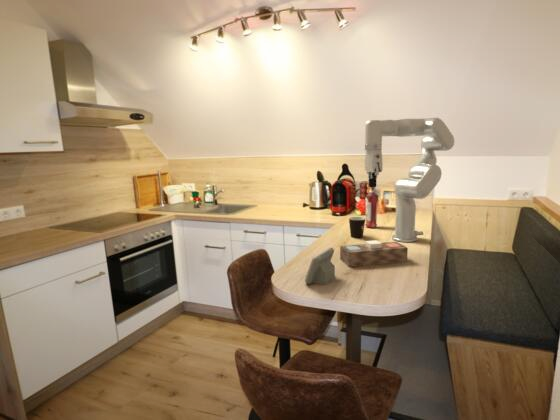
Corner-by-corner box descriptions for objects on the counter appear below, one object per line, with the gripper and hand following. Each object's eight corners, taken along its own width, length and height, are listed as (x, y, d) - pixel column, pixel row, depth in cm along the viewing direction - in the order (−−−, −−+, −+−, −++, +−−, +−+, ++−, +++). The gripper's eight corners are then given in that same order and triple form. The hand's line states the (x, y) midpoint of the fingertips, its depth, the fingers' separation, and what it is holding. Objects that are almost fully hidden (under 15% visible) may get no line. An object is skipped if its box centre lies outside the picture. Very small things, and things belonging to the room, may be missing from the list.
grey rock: (323, 270, 144) (323, 244, 142) (342, 275, 138) (343, 248, 136) (297, 282, 132) (297, 254, 130) (317, 288, 126) (317, 259, 124)
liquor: (362, 226, 218) (363, 180, 213) (374, 225, 219) (375, 179, 214) (368, 229, 211) (368, 181, 206) (379, 228, 212) (380, 180, 207)
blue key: (356, 254, 155) (356, 246, 155) (361, 258, 151) (361, 249, 150) (345, 255, 155) (345, 246, 154) (349, 259, 150) (349, 250, 149)
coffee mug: (355, 239, 189) (355, 220, 187) (345, 236, 196) (345, 218, 194) (372, 236, 194) (373, 218, 192) (362, 233, 201) (362, 215, 200)
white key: (376, 249, 157) (376, 240, 156) (381, 252, 152) (381, 243, 151) (365, 250, 156) (365, 241, 155) (370, 253, 151) (370, 244, 150)
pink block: (395, 251, 158) (395, 243, 158) (401, 255, 154) (401, 246, 153) (384, 252, 158) (384, 243, 157) (390, 256, 153) (390, 247, 152)
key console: (395, 254, 161) (396, 241, 160) (407, 261, 152) (407, 247, 151) (340, 259, 157) (340, 245, 156) (348, 266, 147) (348, 252, 146)
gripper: (388, 147, 160) (387, 188, 163) (373, 147, 175) (373, 185, 178) (372, 147, 159) (371, 189, 162) (359, 147, 173) (358, 185, 177)
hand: (372, 186), depth 170 cm, fingers closed
